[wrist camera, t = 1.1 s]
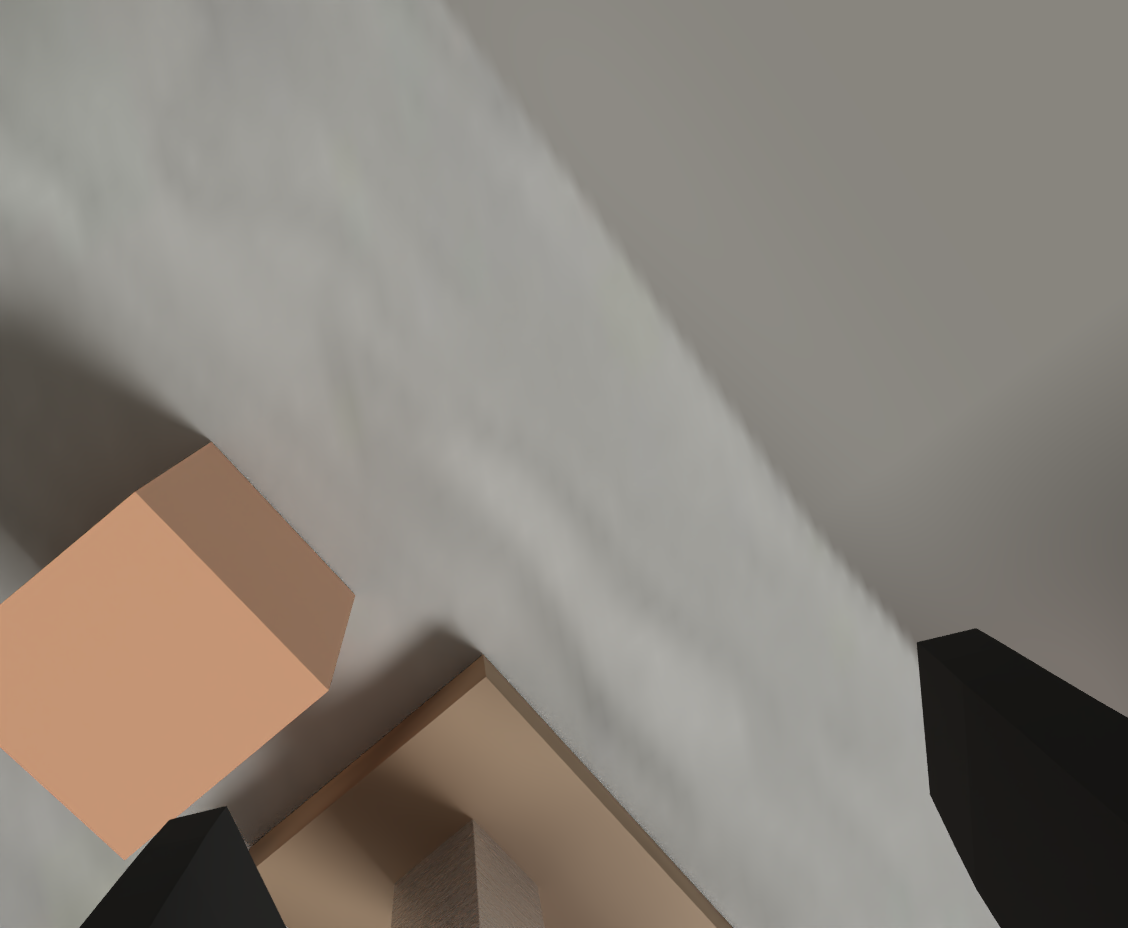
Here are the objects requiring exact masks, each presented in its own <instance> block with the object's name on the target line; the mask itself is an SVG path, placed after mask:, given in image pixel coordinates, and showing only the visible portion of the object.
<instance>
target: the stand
mask: <svg viewBox="0 0 1128 928" xmlns="http://www.w3.org/2000/svg"><path fill="white" fill-rule="evenodd" d="M472 819H473V820H474V821H475V822H476V823H477V824H478V825H479V826H480V827H481V828H482V829H483V830H484V831H485V832H486V833H487V834H488V835H489V836H490V837H491V838H492V839H493V840H494V841H495V842H496V843H497V845H498V846H499V847H500V848H501V849H502V850H503V851H504V852H505V853H506V854H507V855H508V856H509V857H510V858H511V859H512V860H513V861H514V862H515V863H516V864H517V865H518V866H519V867H520V868H521V869H522V870H523V871H524V872H525V873H526V874H527V876H528V877H529V878H530V879H531V880H532V881H533V882H534V883H535V884H536V885H537V886H538V892H539V898H540V904H541V910H542V916H543V922H544V928H733V927H732V926H731V925H730V924H729V923H728V922H727V921H726V920H725V919H724V917H723V916H722V915H721V914H720V913H719V912H718V911H717V910H716V909H715V908H714V907H713V905H712V904H711V903H710V902H709V901H708V900H707V899H706V898H705V897H704V896H703V895H702V893H701V892H700V891H699V890H698V889H697V888H696V887H695V886H694V885H693V884H692V882H691V881H690V880H689V879H688V878H687V877H686V876H685V875H684V874H683V873H682V872H681V870H680V869H679V868H678V867H677V866H676V865H675V864H674V863H673V862H672V861H671V859H670V858H669V857H668V856H667V855H666V854H665V853H664V852H663V851H662V850H661V849H660V847H659V846H658V845H657V844H656V843H655V842H654V841H653V840H652V839H651V838H650V836H649V835H648V834H647V833H646V832H645V831H644V830H643V829H642V828H641V827H640V826H639V824H638V823H637V822H636V821H635V820H634V819H633V818H632V817H631V816H630V815H629V814H628V812H627V811H626V810H625V809H624V808H623V807H622V806H621V805H620V804H619V803H618V801H617V800H616V799H615V798H614V797H613V796H612V795H611V794H610V793H609V792H608V791H607V789H606V788H605V787H604V786H603V785H602V784H601V783H600V782H599V781H598V780H597V778H596V777H595V776H594V775H593V774H592V773H591V772H590V771H589V770H588V769H587V768H586V766H585V765H584V764H583V763H582V762H581V761H580V760H579V759H578V758H577V757H576V756H575V754H574V753H573V752H572V751H571V750H570V749H569V748H568V747H567V746H566V745H565V743H564V742H563V741H562V740H561V739H560V738H559V737H558V736H557V735H556V734H555V733H554V731H553V730H552V729H551V728H550V727H549V726H548V725H547V724H546V723H545V722H544V720H543V719H542V718H541V717H540V716H539V715H538V714H537V713H536V712H535V711H534V710H533V708H532V707H531V706H530V705H529V704H528V703H527V702H526V701H525V700H524V699H523V697H522V696H521V695H520V694H519V693H518V692H517V691H516V690H515V689H514V688H513V687H512V685H511V684H510V683H509V682H508V681H507V680H506V679H505V678H504V677H503V676H502V675H501V673H500V672H499V671H498V670H497V669H496V668H495V667H494V666H493V665H492V664H491V662H490V661H489V660H488V659H487V658H486V657H485V656H484V655H482V656H481V657H479V658H478V659H477V660H476V661H475V662H473V663H472V664H471V665H470V666H469V667H467V668H466V669H465V670H464V671H463V672H461V673H460V674H459V675H458V676H457V677H455V678H454V679H453V680H452V681H451V682H449V683H448V684H447V685H446V686H444V687H443V688H442V689H441V690H440V691H438V692H437V693H436V694H435V695H434V696H432V697H431V698H430V699H429V700H428V701H426V702H425V703H424V704H423V705H422V706H420V707H419V708H418V709H417V710H416V711H414V712H413V713H412V714H411V715H410V716H408V717H407V718H406V719H405V720H403V721H402V722H401V723H400V724H399V725H397V726H396V727H395V728H394V729H393V730H391V731H390V732H389V733H388V734H387V735H385V736H384V737H383V738H382V739H381V740H379V741H378V742H377V743H376V744H375V745H373V746H372V747H371V748H370V749H369V750H367V751H366V752H365V753H364V754H362V755H361V756H360V757H359V758H358V759H356V760H355V761H354V762H353V763H352V764H350V765H349V766H348V767H347V768H346V769H344V770H343V771H342V772H341V773H340V774H338V775H337V776H336V777H335V778H334V779H332V780H331V781H330V782H329V783H328V784H326V785H325V786H324V787H323V788H321V789H320V790H319V791H318V792H317V793H315V794H314V795H313V796H312V797H311V798H309V799H308V800H307V801H306V802H305V803H303V804H302V805H301V806H300V807H299V808H297V809H296V810H295V811H294V812H293V813H291V814H290V815H289V816H288V817H287V818H285V819H284V820H283V821H282V822H280V823H279V824H278V825H277V826H276V827H274V828H273V829H272V830H271V831H270V832H268V833H267V834H266V835H265V836H264V837H262V838H261V839H260V840H259V841H258V842H256V843H255V844H254V845H253V846H252V847H250V850H249V853H250V855H251V857H252V859H253V861H254V863H255V865H256V867H257V869H258V871H259V873H260V875H261V877H262V879H263V881H264V883H265V885H266V887H267V889H268V891H269V893H270V895H271V897H272V899H273V901H274V903H275V905H276V908H277V910H278V912H279V914H280V916H281V918H282V920H283V922H284V924H285V925H286V926H287V927H288V928H391V921H392V908H393V894H394V884H395V883H396V882H397V881H398V880H400V879H401V878H402V877H403V876H404V875H406V874H407V873H408V872H409V871H410V870H412V869H413V868H414V867H415V866H416V865H418V864H419V863H420V862H421V861H423V860H424V859H425V858H426V857H427V856H429V855H430V854H431V853H432V852H433V851H435V850H436V849H437V848H438V847H439V846H441V845H442V844H443V843H444V842H446V841H447V840H448V839H449V838H450V837H452V836H453V835H454V834H455V833H456V832H458V831H459V830H460V829H461V828H462V827H464V826H465V825H466V824H467V823H468V822H470V821H471V820H472Z"/></svg>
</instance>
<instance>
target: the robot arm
mask: <svg viewBox="0 0 1128 928" xmlns="http://www.w3.org/2000/svg"><path fill="white" fill-rule="evenodd" d="M917 650H918V662H919V673H920V685H921V696H922V707H923V719H924V730H925V742H926V753H927V765H928V776H929V788H930V795H931V797H932V799H933V802H934V804H935V806H936V808H937V810H938V812H939V814H940V816H941V818H942V820H943V823H944V825H945V827H946V829H947V831H948V833H949V835H950V837H951V839H952V841H953V843H954V846H955V848H956V850H957V852H958V854H959V855H960V857H961V859H962V861H963V863H964V865H965V867H966V869H967V871H968V873H969V875H970V877H971V879H972V881H973V883H974V885H975V887H976V889H977V891H978V892H979V894H980V896H981V897H982V899H983V900H984V902H985V904H986V905H987V907H988V908H989V910H990V912H991V913H992V915H993V916H994V918H995V920H996V921H997V923H998V924H999V926H1000V927H1001V928H1128V718H1127V717H1125V716H1124V715H1122V714H1120V713H1119V712H1117V711H1115V710H1113V709H1112V708H1110V707H1108V706H1106V705H1105V704H1103V703H1101V702H1099V701H1097V700H1096V699H1094V698H1093V697H1091V696H1089V695H1088V694H1086V693H1084V692H1083V691H1081V690H1079V689H1077V688H1076V687H1074V686H1072V685H1071V684H1069V683H1067V682H1066V681H1064V680H1062V679H1061V678H1059V677H1057V676H1055V675H1054V674H1052V673H1051V672H1049V671H1047V670H1046V669H1044V668H1042V667H1040V666H1039V665H1037V664H1036V663H1034V662H1032V661H1031V660H1029V659H1027V658H1026V657H1024V656H1022V655H1021V654H1019V653H1017V652H1016V651H1014V650H1012V649H1011V648H1009V647H1007V646H1006V645H1004V644H1002V643H1000V642H999V641H997V640H996V639H994V638H992V637H990V636H989V635H987V634H985V633H984V632H982V631H980V630H978V629H971V630H967V631H963V632H958V633H954V634H950V635H946V636H942V637H937V638H933V639H929V640H925V641H920V642H917ZM80 928H286V926H285V924H284V922H283V920H282V918H281V916H280V914H279V912H278V910H277V908H276V905H275V903H274V901H273V899H272V897H271V895H270V893H269V891H268V889H267V887H266V885H265V883H264V881H263V879H262V877H261V875H260V873H259V871H258V869H257V867H256V865H255V863H254V861H253V859H252V857H251V855H250V853H249V851H248V849H247V847H246V845H245V843H244V840H243V838H242V836H241V834H240V832H239V830H238V828H237V826H236V824H235V822H234V820H233V818H232V816H231V814H230V812H229V810H228V808H227V806H225V807H221V808H217V809H212V810H208V811H204V812H200V813H196V814H191V815H187V816H183V817H179V818H174V819H170V820H169V821H168V822H167V823H166V824H165V825H164V826H163V827H162V828H161V830H160V831H159V832H158V833H157V834H156V835H155V836H154V837H153V839H152V840H151V841H150V842H149V843H148V844H147V846H146V847H145V848H144V849H143V850H142V852H141V853H140V854H139V855H138V856H137V858H136V859H135V860H134V861H133V862H132V864H131V865H130V866H129V867H128V868H127V870H126V871H125V872H124V873H123V875H122V876H121V877H120V878H119V879H118V881H117V882H116V883H115V884H114V886H113V887H112V888H111V889H110V891H109V892H108V893H107V894H106V896H105V897H104V898H103V899H102V900H101V902H100V903H99V904H98V905H97V907H96V908H95V909H94V910H93V912H92V913H91V914H90V915H89V917H88V918H87V919H86V920H85V921H84V923H83V924H82V925H81V926H80Z"/></svg>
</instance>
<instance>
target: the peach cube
mask: <svg viewBox="0 0 1128 928" xmlns="http://www.w3.org/2000/svg"><path fill="white" fill-rule="evenodd" d="M354 598H355V595H354V593H353V592H352V591H351V590H350V589H349V588H348V587H347V586H346V585H345V584H344V583H343V582H342V581H341V580H340V579H339V577H338V576H337V575H336V574H335V573H334V572H333V571H332V570H331V569H330V568H329V567H328V566H327V565H326V564H325V563H324V561H323V560H322V559H321V558H320V557H319V556H318V555H317V554H316V553H315V552H314V551H313V550H312V549H311V548H310V546H309V545H308V544H307V543H306V542H305V541H304V540H303V539H302V538H301V537H300V536H299V535H298V534H297V533H296V532H295V530H294V529H293V528H292V527H291V526H290V525H289V524H288V523H287V522H286V521H285V520H284V519H283V518H282V517H281V516H280V514H279V513H278V512H277V511H276V510H275V509H274V508H273V507H272V506H271V505H270V504H269V503H268V502H267V501H266V500H265V498H264V497H263V496H262V495H261V494H260V493H259V492H258V491H257V490H256V489H255V488H254V487H253V486H252V485H251V484H250V482H249V481H248V480H247V479H246V478H245V477H244V476H243V475H242V474H241V473H240V472H239V471H238V470H237V469H236V467H235V466H234V465H233V464H232V463H231V462H230V461H229V460H228V459H227V458H226V457H225V456H224V455H223V454H222V453H221V451H220V450H219V449H218V448H217V447H216V446H215V445H214V444H213V443H212V442H210V443H209V444H207V445H206V446H204V447H202V448H201V449H199V450H198V451H196V452H195V453H193V454H192V455H190V456H189V457H187V458H186V459H184V460H183V461H181V462H180V463H178V464H177V465H175V466H173V467H172V468H170V469H169V470H167V471H166V472H164V473H163V474H161V475H160V476H158V477H157V478H155V479H154V480H152V481H151V482H149V483H147V484H146V485H144V486H143V487H141V488H140V489H138V490H137V491H135V492H134V493H133V494H132V495H130V496H129V497H128V498H127V499H126V500H124V501H123V502H122V503H121V504H120V505H118V506H117V507H116V508H115V509H114V510H113V511H111V512H110V513H109V514H108V515H107V516H105V517H104V518H103V519H102V520H101V521H99V522H98V523H97V524H96V525H95V526H93V527H92V528H91V529H90V530H89V531H87V532H86V533H85V534H84V535H83V536H81V537H80V538H79V539H78V540H77V541H76V542H74V543H73V544H72V545H71V546H70V547H68V548H67V549H66V550H65V551H64V552H62V553H61V554H60V555H59V556H58V557H56V558H55V559H54V560H53V561H52V562H50V563H49V564H48V565H47V566H46V567H45V568H43V569H42V570H41V571H40V572H39V573H37V574H36V575H35V576H34V577H33V578H31V579H30V580H29V581H28V582H27V583H25V584H24V585H23V586H22V587H21V588H19V589H18V590H17V591H16V592H15V593H13V594H12V595H11V596H10V597H9V598H8V599H6V600H5V601H4V602H3V603H2V604H0V747H1V748H2V749H3V750H4V751H5V752H6V753H7V754H8V755H9V756H10V757H12V758H13V759H14V760H15V761H16V762H17V763H18V764H19V765H20V766H21V767H23V768H24V769H25V770H26V771H27V772H28V773H29V774H30V775H31V776H32V777H34V778H35V779H36V780H37V781H38V782H39V783H40V784H41V785H42V786H43V787H45V788H46V789H47V790H48V791H49V792H50V793H51V794H52V795H53V796H54V797H56V798H57V799H58V800H59V801H60V802H61V803H62V804H63V805H64V806H65V807H67V808H68V809H69V810H70V811H71V812H72V813H73V814H74V815H75V816H76V817H78V818H79V819H80V820H81V821H82V822H83V823H84V824H85V825H86V826H87V827H89V828H90V829H91V830H92V831H93V832H94V833H95V834H96V835H97V836H98V837H100V838H101V839H102V840H103V841H104V842H105V843H106V844H107V845H108V846H109V847H111V848H112V849H113V850H114V851H115V852H116V853H117V854H118V855H119V856H120V857H122V858H123V859H124V860H125V859H127V858H128V857H129V856H130V855H131V854H133V853H134V852H135V851H136V850H137V849H139V848H140V847H141V846H142V845H143V844H145V843H146V842H147V841H148V840H149V839H151V838H152V837H153V836H154V835H156V834H157V833H158V832H159V831H160V830H161V828H162V827H163V826H164V825H165V824H166V823H167V822H168V821H169V820H170V819H174V818H176V817H177V816H178V815H180V814H181V813H182V812H183V811H184V810H186V809H187V808H188V807H189V806H190V805H192V804H193V803H194V802H195V801H196V800H198V799H199V798H200V797H201V796H202V795H204V794H205V793H206V792H207V791H208V790H210V789H211V788H212V787H213V786H214V785H216V784H217V783H218V782H219V781H220V780H222V779H223V778H224V777H225V776H227V775H228V774H229V773H230V772H231V771H233V770H234V769H235V768H236V767H237V766H239V765H240V764H241V763H242V762H243V761H245V760H246V759H247V758H248V757H249V756H251V755H252V754H253V753H254V752H255V751H257V750H258V749H259V748H260V747H261V746H263V745H264V744H265V743H266V742H267V741H269V740H270V739H271V738H272V737H273V736H275V735H276V734H277V733H278V732H279V731H281V730H282V729H283V728H284V727H285V726H287V725H288V724H289V723H290V722H291V721H293V720H294V719H295V718H296V717H297V716H299V715H300V714H301V713H302V712H304V711H305V710H306V709H307V708H308V707H310V706H311V705H312V704H313V703H314V702H316V701H317V700H318V699H319V698H320V697H322V696H323V695H324V694H325V693H326V692H328V691H329V688H330V684H331V681H332V677H333V673H334V670H335V666H336V663H337V659H338V655H339V652H340V648H341V644H342V641H343V637H344V634H345V630H346V626H347V623H348V619H349V616H350V612H351V608H352V605H353V601H354Z"/></svg>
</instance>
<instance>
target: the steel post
mask: <svg viewBox="0 0 1128 928" xmlns="http://www.w3.org/2000/svg"><path fill="white" fill-rule="evenodd" d="M391 928H544V922H543V916H542V910H541V904H540V898H539V892H538V886H537V885H536V884H535V883H534V882H533V881H532V880H531V879H530V878H529V877H528V876H527V874H526V873H525V872H524V871H523V870H522V869H521V868H520V867H519V866H518V865H517V864H516V863H515V862H514V861H513V860H512V859H511V858H510V857H509V856H508V855H507V854H506V853H505V852H504V851H503V850H502V849H501V848H500V847H499V846H498V845H497V843H496V842H495V841H494V840H493V839H492V838H491V837H490V836H489V835H488V834H487V833H486V832H485V831H484V830H483V829H482V828H481V827H480V826H479V825H478V824H477V823H476V822H475V821H474V820H473V819H472V820H471V821H470V822H468V823H467V824H466V825H465V826H464V827H462V828H461V829H460V830H459V831H458V832H456V833H455V834H454V835H453V836H452V837H450V838H449V839H448V840H447V841H446V842H444V843H443V844H442V845H441V846H439V847H438V848H437V849H436V850H435V851H433V852H432V853H431V854H430V855H429V856H427V857H426V858H425V859H424V860H423V861H421V862H420V863H419V864H418V865H416V866H415V867H414V868H413V869H412V870H410V871H409V872H408V873H407V874H406V875H404V876H403V877H402V878H401V879H400V880H398V881H397V882H396V883H395V884H394V894H393V908H392V921H391Z"/></svg>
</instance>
